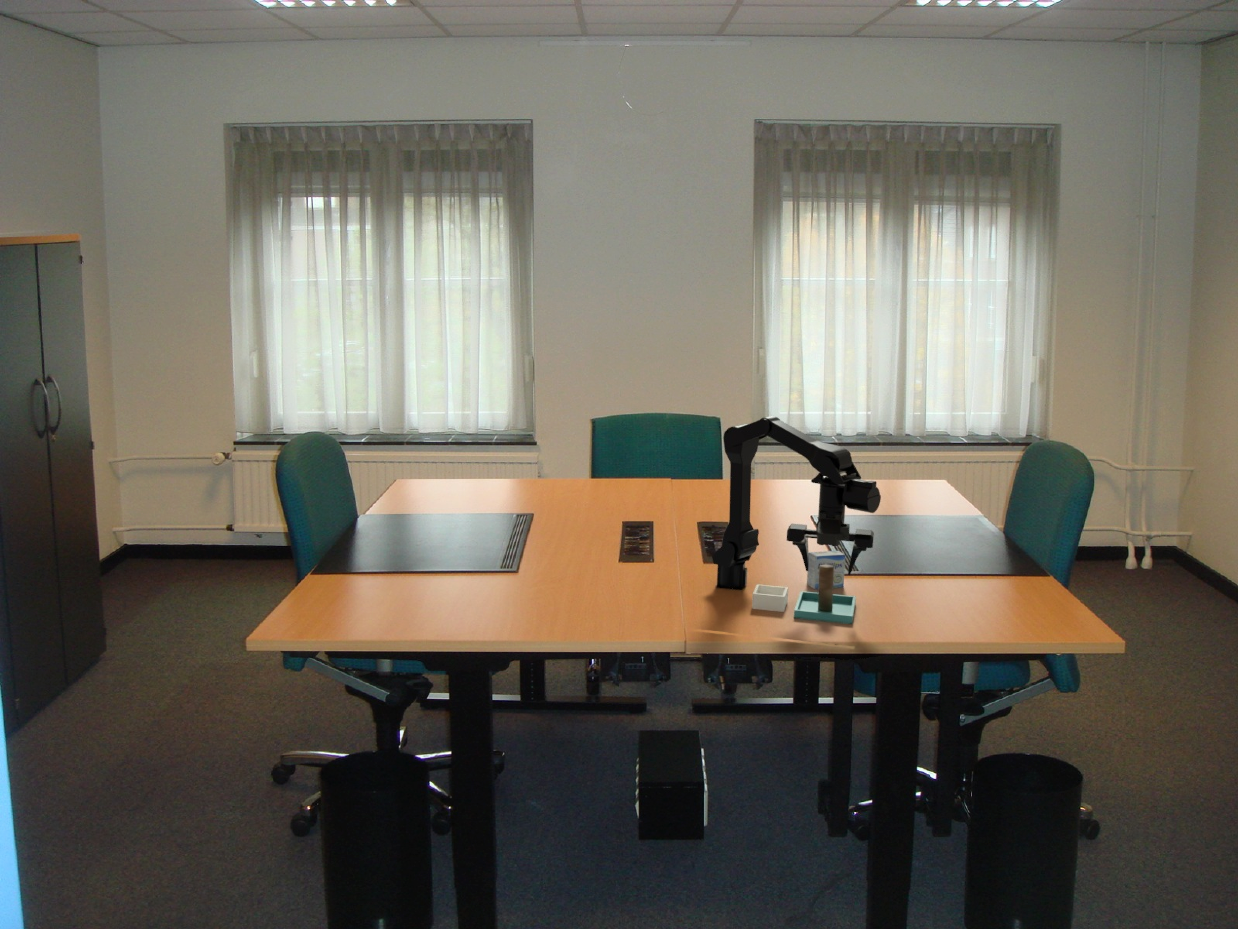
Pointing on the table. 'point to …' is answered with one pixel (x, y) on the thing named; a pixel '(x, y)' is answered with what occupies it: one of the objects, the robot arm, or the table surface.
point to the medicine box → (826, 559)
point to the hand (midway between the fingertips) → (828, 572)
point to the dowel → (825, 588)
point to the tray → (839, 613)
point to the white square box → (770, 598)
